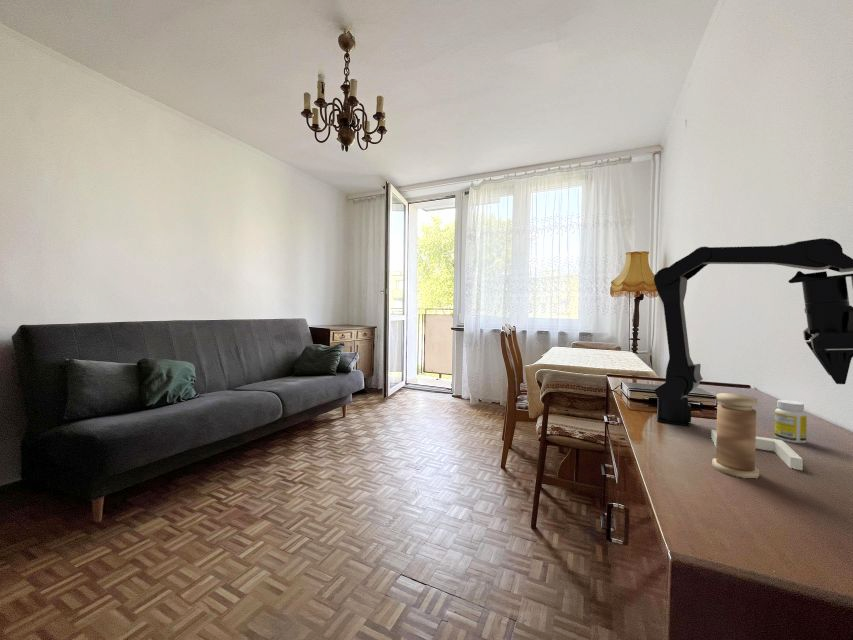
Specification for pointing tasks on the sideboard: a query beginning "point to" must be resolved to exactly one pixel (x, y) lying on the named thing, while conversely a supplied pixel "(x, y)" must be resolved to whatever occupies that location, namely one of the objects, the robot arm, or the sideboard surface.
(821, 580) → the sideboard surface
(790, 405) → the supplement bottle
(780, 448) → the white u-shaped piece
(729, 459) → the bobbin
